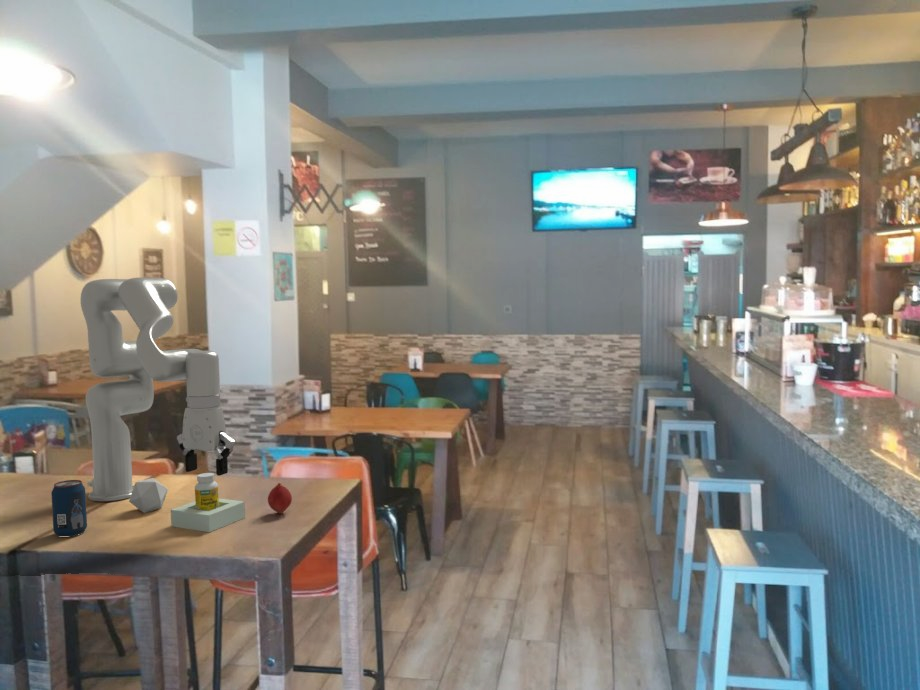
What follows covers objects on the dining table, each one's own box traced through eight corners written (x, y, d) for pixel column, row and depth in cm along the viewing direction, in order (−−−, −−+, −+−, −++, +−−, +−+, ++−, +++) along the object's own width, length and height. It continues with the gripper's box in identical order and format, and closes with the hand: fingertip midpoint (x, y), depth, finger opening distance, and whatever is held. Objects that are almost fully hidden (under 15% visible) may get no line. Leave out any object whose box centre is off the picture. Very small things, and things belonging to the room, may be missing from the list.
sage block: (171, 526, 174) (170, 509, 174) (208, 512, 185) (207, 496, 185) (209, 532, 169) (209, 515, 169) (245, 517, 180) (244, 501, 180)
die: (168, 514, 186) (176, 479, 191) (138, 504, 180) (147, 468, 185) (149, 521, 190) (158, 486, 195) (119, 511, 184) (129, 476, 190)
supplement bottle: (215, 509, 181) (214, 470, 180) (221, 514, 176) (220, 475, 176) (193, 512, 178) (191, 474, 177) (199, 518, 173) (197, 478, 173)
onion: (263, 513, 183) (262, 482, 182) (283, 508, 187) (282, 478, 186) (276, 518, 179) (275, 486, 178) (296, 513, 183) (295, 481, 182)
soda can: (64, 528, 173) (61, 479, 172) (93, 528, 173) (90, 479, 172) (47, 538, 166) (44, 487, 166) (77, 538, 166) (74, 486, 165)
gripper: (165, 402, 175) (168, 472, 176) (220, 406, 168) (223, 479, 169) (188, 398, 182) (191, 465, 183) (242, 401, 175) (245, 472, 176)
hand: (206, 472), depth 176 cm, fingers open, 9 cm apart
